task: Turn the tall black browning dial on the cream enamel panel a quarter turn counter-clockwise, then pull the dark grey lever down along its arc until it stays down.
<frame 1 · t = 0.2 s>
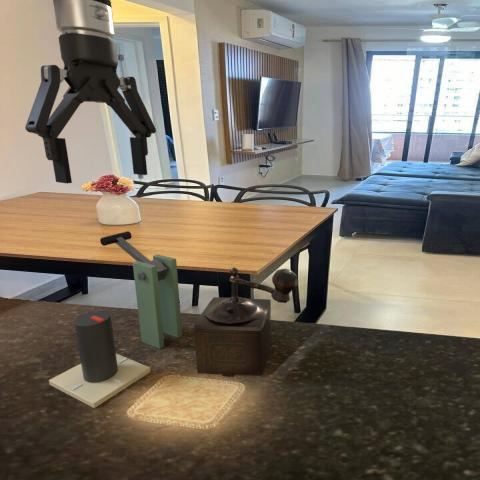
hand: (105, 178, 63), 29 cm above the kitchen counter, tool pointing down, fingers open, 13 cm apart
coffee grinder: (251, 364, 63), on the kitchen counter
browning dial: (96, 345, 55), point 7 cm above the kitchen counter, hinge at 0.0°
green lever stand: (162, 344, 67), on the kitchen counter
dial panel: (102, 385, 56), on the kitchen counter
dark grey lever: (136, 255, 65), point 16 cm above the kitchen counter, hinge at 25.0°
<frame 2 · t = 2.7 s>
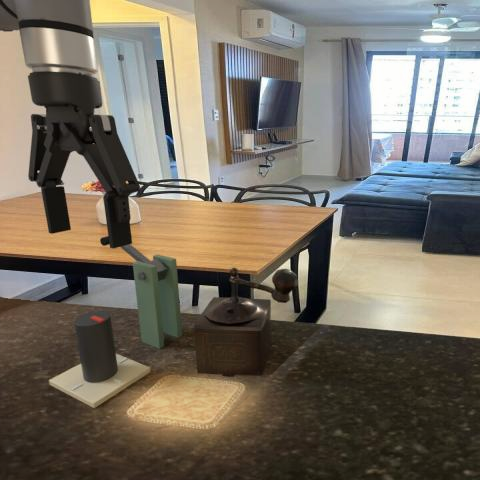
hand: (89, 238, 53), 22 cm above the kitchen counter, tool pointing down, fingers open, 13 cm apart
nothing on the kitchen counter moved.
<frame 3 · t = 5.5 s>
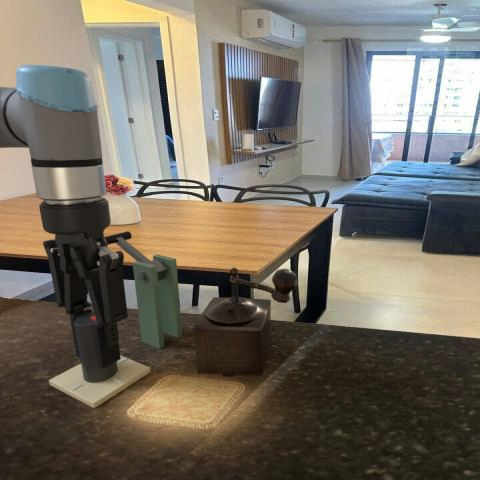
hand: (98, 357, 55), 5 cm above the kitchen counter, tool pointing down, fingers closed on browning dial, 4 cm apart
browning dial: (96, 345, 55), point 7 cm above the kitchen counter, hinge at 0.0°, touching gripper
everything else where it was.
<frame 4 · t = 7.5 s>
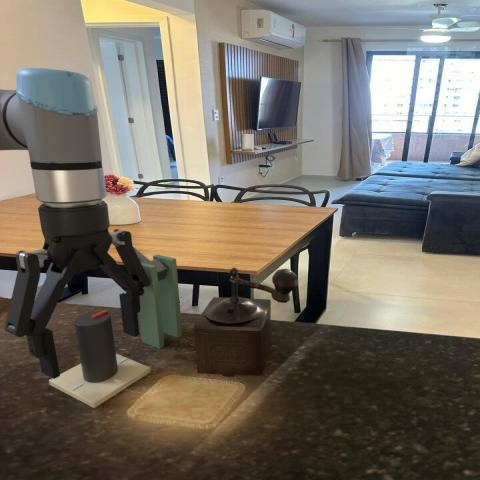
hand: (95, 352, 55), 6 cm above the kitchen counter, tool pointing down, fingers open, 11 cm apart
browning dial: (96, 345, 55), point 7 cm above the kitchen counter, hinge at 90.1°
everything else where it was.
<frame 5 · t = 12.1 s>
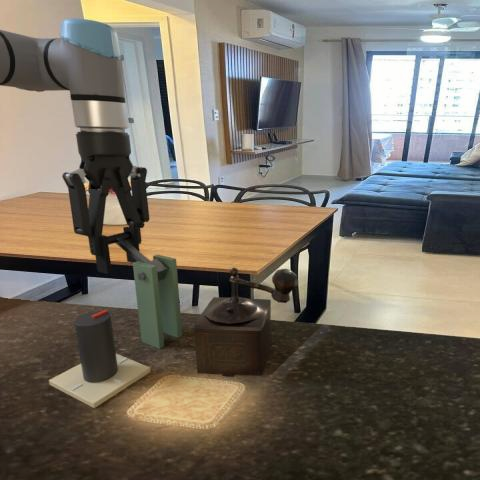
hand: (119, 266, 67), 13 cm above the kitchen counter, tool pointing down, fingers closed on dark grey lever, 5 cm apart
dark grey lever: (136, 255, 65), point 16 cm above the kitchen counter, hinge at 25.0°, touching gripper
everything else where it was.
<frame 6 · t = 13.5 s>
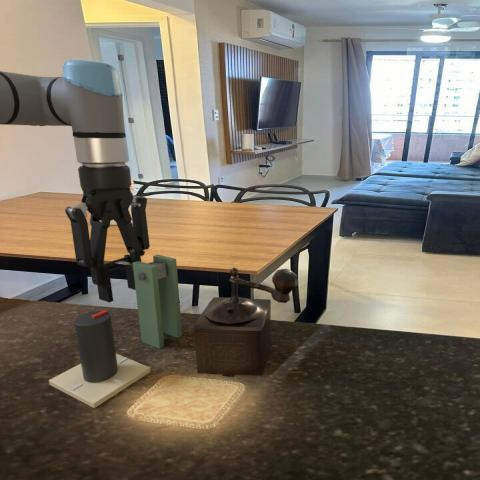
hand: (121, 293, 69), 8 cm above the kitchen counter, tool pointing down, fingers closed on dark grey lever, 5 cm apart
dark grey lever: (136, 267, 65), point 14 cm above the kitchen counter, hinge at -4.0°, touching gripper
everything else where it was.
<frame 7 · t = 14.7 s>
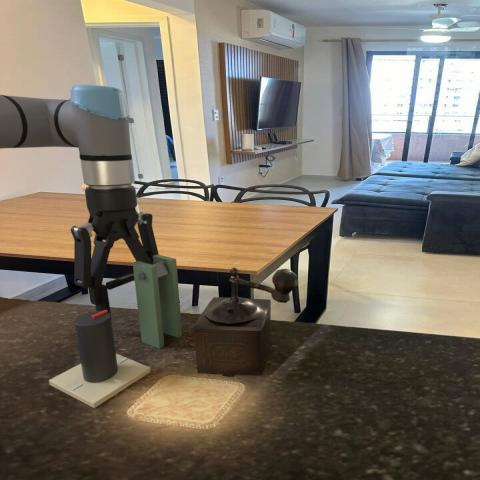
hand: (125, 309, 70), 5 cm above the kitchen counter, tool pointing down, fingers open, 8 cm apart
dark grey lever: (138, 275, 66), point 12 cm above the kitchen counter, hinge at -22.6°
everything else where it was.
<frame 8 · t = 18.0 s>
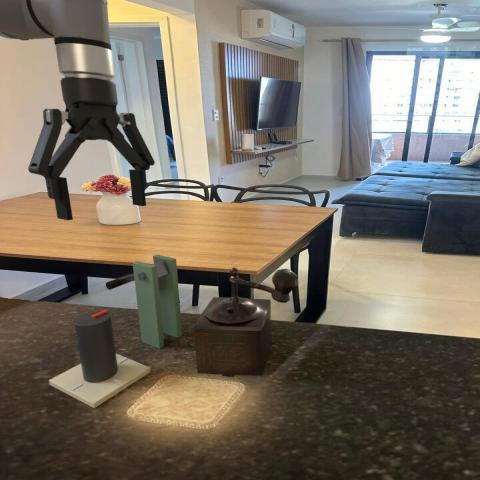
hand: (105, 211, 66), 23 cm above the kitchen counter, tool pointing down, fingers open, 13 cm apart
nothing on the kitchen counter moved.
at the end: browning dial at +90° (first picture: +0°); dark grey lever at -23° (first picture: +25°) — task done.
